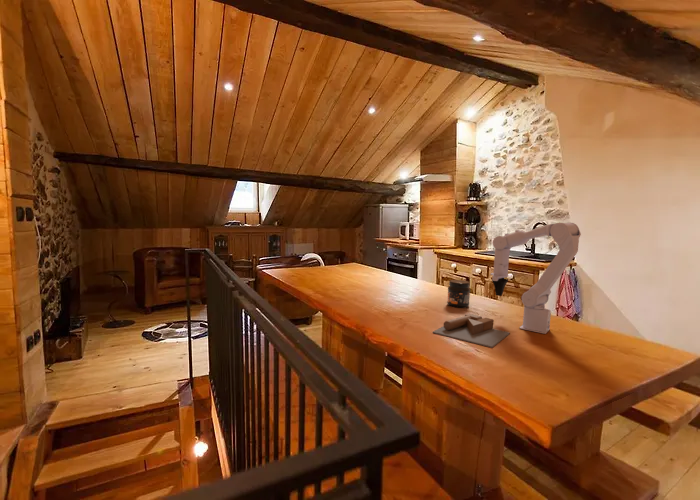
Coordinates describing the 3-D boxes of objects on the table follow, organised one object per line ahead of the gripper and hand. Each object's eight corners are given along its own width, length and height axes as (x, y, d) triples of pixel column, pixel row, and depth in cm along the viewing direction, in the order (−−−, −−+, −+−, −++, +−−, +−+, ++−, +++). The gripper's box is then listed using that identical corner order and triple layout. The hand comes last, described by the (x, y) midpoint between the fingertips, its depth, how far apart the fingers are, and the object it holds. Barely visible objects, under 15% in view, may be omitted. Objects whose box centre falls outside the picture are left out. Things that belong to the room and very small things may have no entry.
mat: (509, 333, 140) (509, 332, 140) (492, 347, 125) (492, 346, 125) (454, 321, 154) (454, 320, 154) (432, 332, 139) (432, 331, 139)
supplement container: (442, 303, 184) (443, 280, 182) (459, 302, 188) (460, 279, 187) (456, 309, 174) (458, 284, 173) (473, 307, 179) (475, 282, 177)
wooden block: (493, 328, 145) (466, 337, 133) (469, 321, 153) (442, 329, 142) (494, 319, 144) (467, 327, 133) (469, 312, 153) (442, 319, 141)
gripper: (497, 261, 165) (494, 291, 167) (485, 264, 154) (483, 296, 156) (513, 263, 161) (511, 293, 162) (503, 266, 150) (500, 299, 151)
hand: (498, 295), depth 159 cm, fingers closed
